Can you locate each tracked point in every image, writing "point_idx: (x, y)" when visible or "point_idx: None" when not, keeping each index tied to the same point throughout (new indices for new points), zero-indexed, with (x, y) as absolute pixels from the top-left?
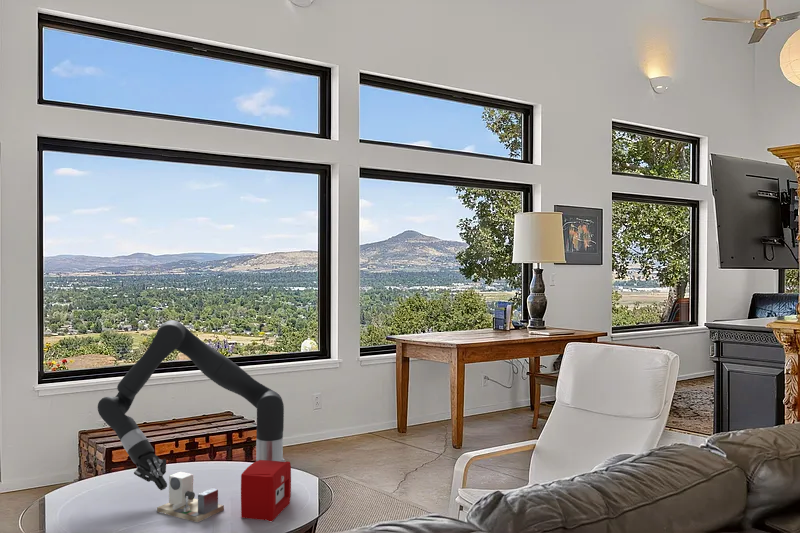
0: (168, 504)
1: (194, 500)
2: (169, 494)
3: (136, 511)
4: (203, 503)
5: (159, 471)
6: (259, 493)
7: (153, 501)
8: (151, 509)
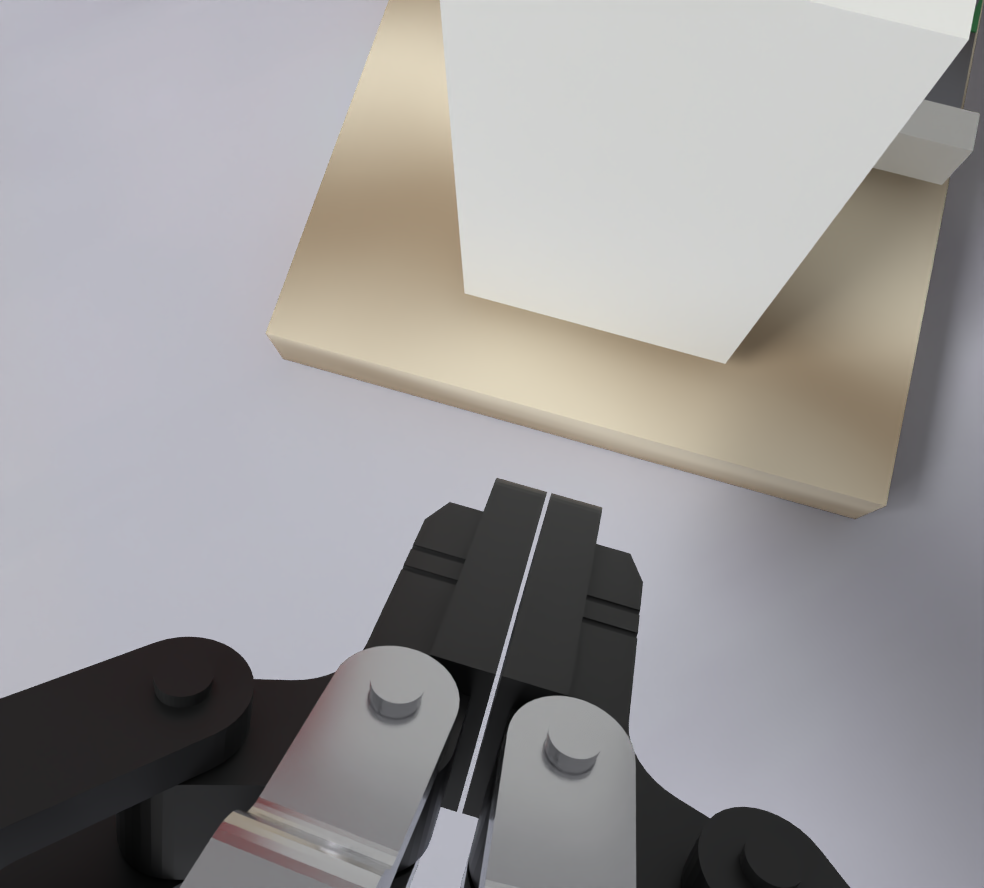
0: (704, 390)
1: (425, 93)
2: (774, 291)
3: (942, 880)
4: None
5: (341, 796)
6: None
7: None
8: (778, 671)
